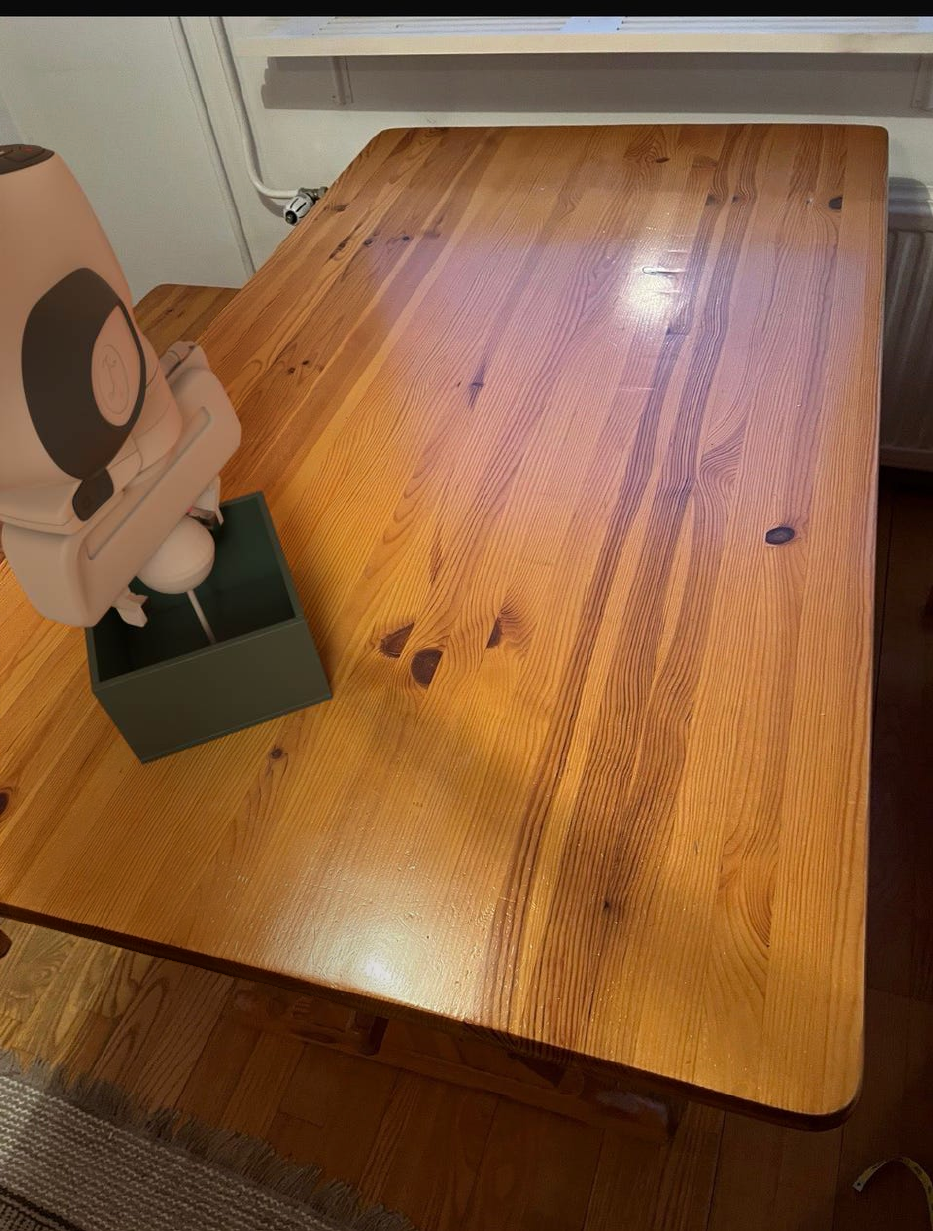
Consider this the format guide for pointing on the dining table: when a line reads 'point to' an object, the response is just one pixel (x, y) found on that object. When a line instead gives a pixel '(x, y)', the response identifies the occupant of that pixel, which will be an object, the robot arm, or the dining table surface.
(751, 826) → the dining table surface
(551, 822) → the dining table surface
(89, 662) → the bin
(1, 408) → the robot arm
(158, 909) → the dining table surface
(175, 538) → the lollipop
